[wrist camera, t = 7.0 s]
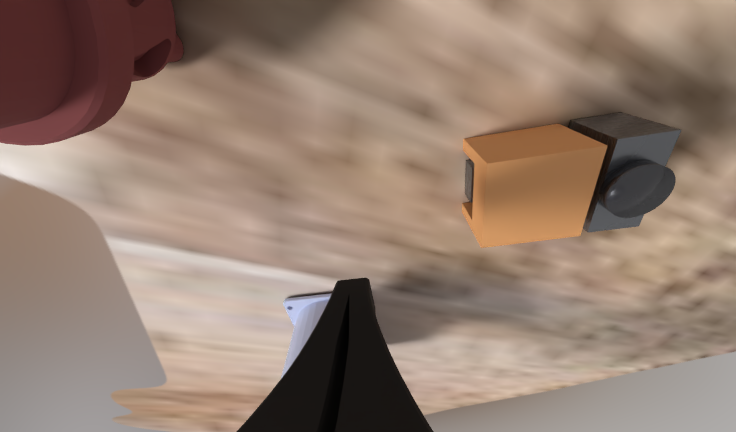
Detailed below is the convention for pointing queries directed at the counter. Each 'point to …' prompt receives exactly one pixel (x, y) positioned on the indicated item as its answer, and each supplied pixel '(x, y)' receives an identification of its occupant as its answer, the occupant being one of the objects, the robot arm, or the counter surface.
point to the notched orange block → (531, 184)
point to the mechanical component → (76, 62)
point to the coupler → (622, 169)
